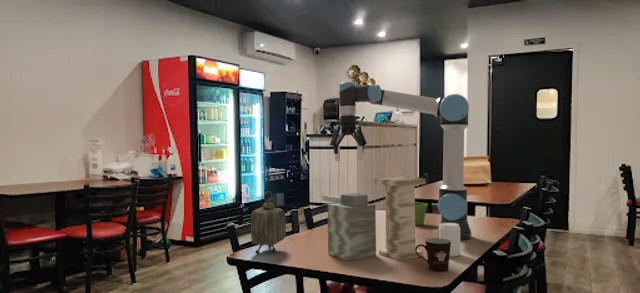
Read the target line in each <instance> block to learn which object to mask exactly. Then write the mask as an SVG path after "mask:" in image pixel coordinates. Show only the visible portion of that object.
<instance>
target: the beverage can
mask: <svg viewBox="0 0 640 293" xmlns="http://www.w3.org/2000/svg"><path fill="white" fill-rule="evenodd" d="M440 223H441V222H440ZM440 223H439V226H438V229H439V237H438V238H443V239H448V240H451V247H450V256H449V258H455V257H458V256H460V255H461V254H462V253H461V251H462V250H461V244H462V243H461V240H460V227H459V224H456V223H441V224H440Z"/></svg>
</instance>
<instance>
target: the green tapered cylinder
mask: <svg viewBox="0 0 640 293" xmlns="http://www.w3.org/2000/svg"><path fill="white" fill-rule="evenodd" d="M428 205H429V204H428V203H426V202H415V226H416V227H417V226H423V225H425V218H426V211H427V208H428Z"/></svg>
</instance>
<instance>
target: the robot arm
mask: <svg viewBox="0 0 640 293" xmlns="http://www.w3.org/2000/svg"><path fill="white" fill-rule="evenodd" d="M338 87H339V89H338V91H339V92H338V94H339V115H340V117H339V123H340V125H335V127H334V132H333V133H332V134H333V135H332V138H331V141H329V142H330V143H329V146H331V147H332V148H333V154H334V156H335V158H334V160H335V162H340V161H341V150H340V149H341V147H340V146H339V145H340V144H341V143H342V141H343V139H344V138H345V136H352V137H353V139H354V140H355V142H356V143H357V145H358V146H357V161H363V160H364V158H363V157H364V154H363V153H364V147H365V146H366V145H368V144H367V141H366V138H365V136H364V133H363V130H362V126H361V125H356V124H357V116H356V114H357V109H356V106H357V105H356V104H357V103H364V102H366V103H369V104H371V105H378V106H384V107H390V108H395V109H400V110H401V109H402V110H407V111H411V112H412V111H413V112H417V113H418V112H419V113H422V114H429V115H434V116H435V117H436V118H439V119H440V122H439V123H440V124H439V125H440V127H441V128H442V129H443V149H442V152H443V154H442V155H443V156H442V157H443V158H442V159H443V160H442V184H441V185H440V186H439V188H438V202H437V209H438V213H439V214H440V216H441V217H440V219H441V221H440V223H439V225H440V224H441V223H456V224H459V227H460V241H465V240H470V239H472V237H473V236H472V235H473V234H472V230H471V227H470V224H469V221H468V189H467V187H466V186H465V184H464V171H465V170H464V169H465V168H464V167H465V166H464V164H465V160H464V158H465V130H466V129H467V128H468V126H469V112H470V106H469V102H468V100H467V98H466V97H464V96H463V95H461V94H458V93H453V94H449V95H446V96H444V97H443V96H440V97H438V98H434V97H431V96H430V97H429V96H424V95H422V96H421V95H417V94H416V95H415V94H410V93H406V92H405V93H404V92H399V91H392V90H388V89H387V90H385V89H382V88H381V85H379V84H370V85H356V83H355V82H353V81H344V82H340V83H339V86H338ZM437 238H439V228H438V229H437Z"/></svg>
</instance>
